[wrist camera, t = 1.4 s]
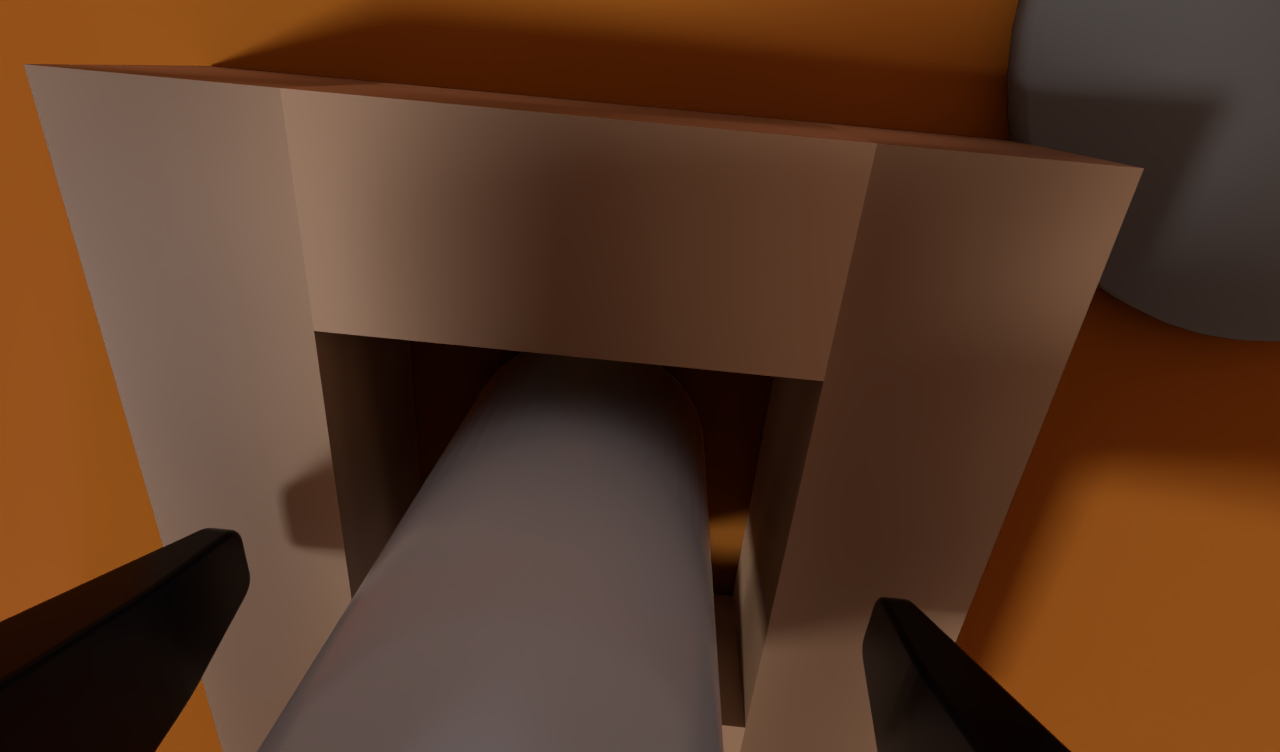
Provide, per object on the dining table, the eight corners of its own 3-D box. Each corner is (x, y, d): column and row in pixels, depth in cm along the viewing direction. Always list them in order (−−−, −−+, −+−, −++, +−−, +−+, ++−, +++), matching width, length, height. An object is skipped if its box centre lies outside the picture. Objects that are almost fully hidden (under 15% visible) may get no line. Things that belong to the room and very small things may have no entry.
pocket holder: (1012, 140, 10) (1144, 168, 7) (838, 702, 15) (875, 846, 12) (206, 65, 10) (23, 64, 7) (311, 647, 15) (229, 776, 12)
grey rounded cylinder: (719, 352, 11) (819, 1085, 3) (689, 552, 13) (705, 1335, 5) (466, 327, 11) (-79, 982, 3) (473, 530, 13) (142, 1265, 5)
